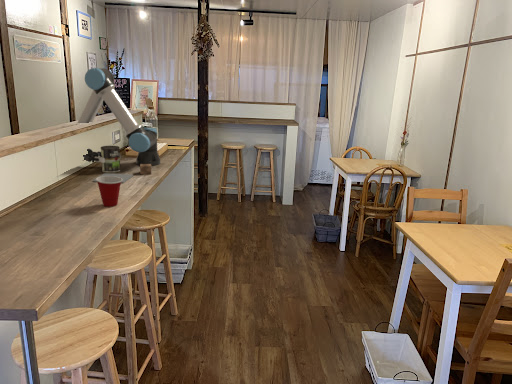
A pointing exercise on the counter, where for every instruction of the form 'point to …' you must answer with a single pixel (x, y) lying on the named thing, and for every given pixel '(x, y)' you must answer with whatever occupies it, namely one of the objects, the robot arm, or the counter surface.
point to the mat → (123, 176)
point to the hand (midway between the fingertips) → (112, 158)
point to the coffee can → (110, 159)
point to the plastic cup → (109, 189)
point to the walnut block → (145, 168)
